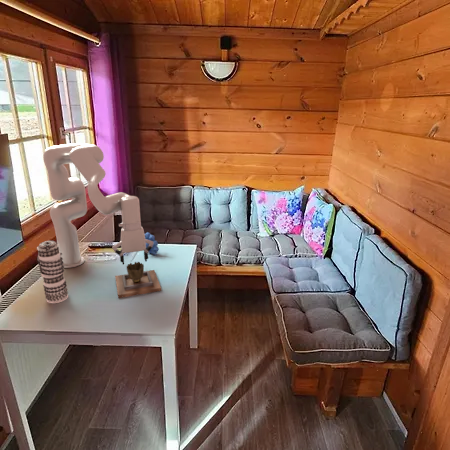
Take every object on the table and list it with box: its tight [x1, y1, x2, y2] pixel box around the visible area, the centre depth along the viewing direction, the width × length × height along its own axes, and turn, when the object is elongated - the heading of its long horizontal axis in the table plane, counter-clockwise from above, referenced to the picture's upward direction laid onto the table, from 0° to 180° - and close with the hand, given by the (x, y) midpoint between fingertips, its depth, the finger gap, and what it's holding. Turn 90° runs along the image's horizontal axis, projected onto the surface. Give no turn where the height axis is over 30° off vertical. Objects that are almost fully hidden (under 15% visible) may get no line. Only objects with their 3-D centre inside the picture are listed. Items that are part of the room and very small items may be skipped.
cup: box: [125, 261, 145, 283], centre depth 156 cm, size 8×7×8 cm
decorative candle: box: [36, 240, 69, 304], centre depth 143 cm, size 9×9×25 cm
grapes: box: [144, 231, 160, 255], centre depth 187 cm, size 12×7×12 cm, turn 54°
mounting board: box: [114, 269, 162, 299], centre depth 158 cm, size 18×18×3 cm
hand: (134, 261), depth 155 cm, fingers open, 9 cm apart
